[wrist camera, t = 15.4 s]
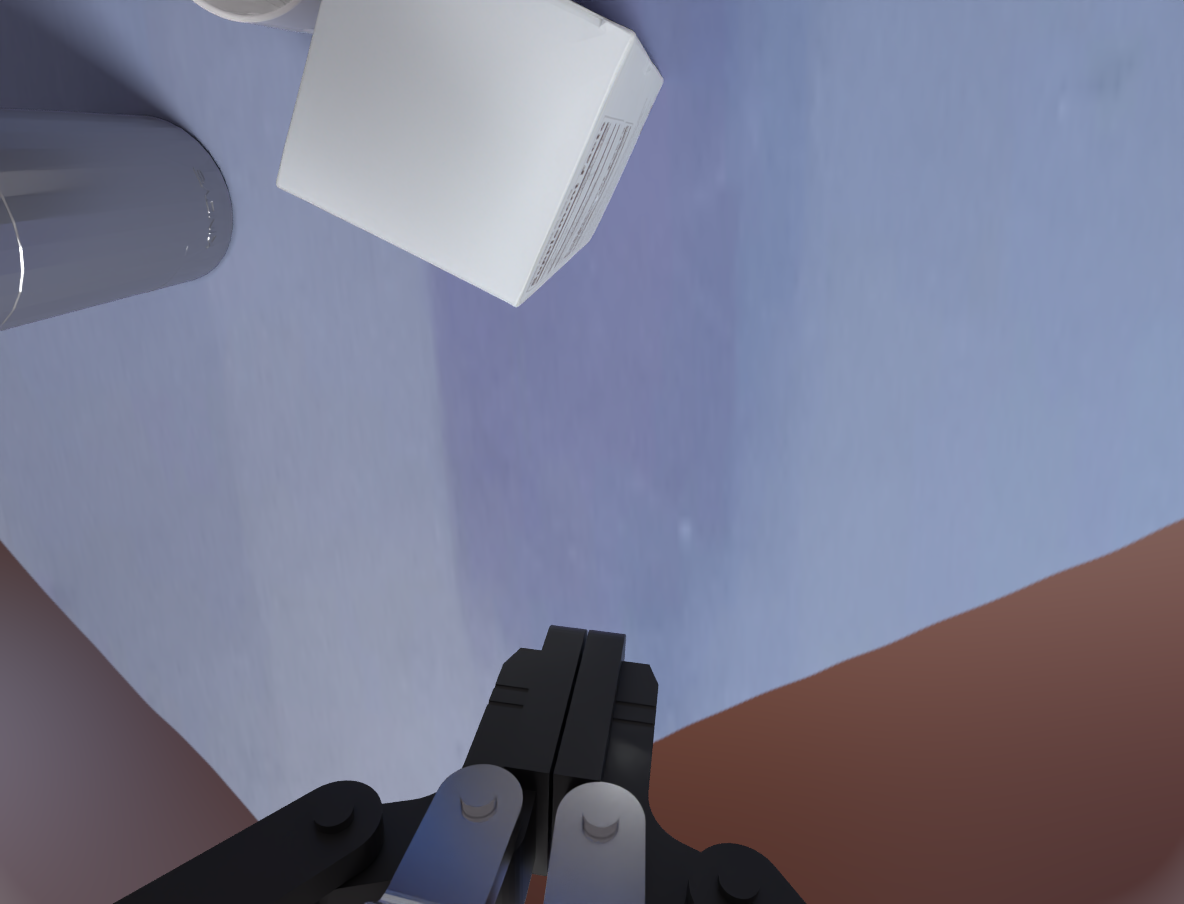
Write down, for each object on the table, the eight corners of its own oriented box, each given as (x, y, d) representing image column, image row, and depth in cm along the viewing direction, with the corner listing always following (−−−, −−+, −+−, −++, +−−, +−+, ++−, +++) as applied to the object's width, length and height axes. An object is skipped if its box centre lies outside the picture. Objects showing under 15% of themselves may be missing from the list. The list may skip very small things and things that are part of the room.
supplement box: (434, 168, 39) (258, 185, 24) (497, -15, 35) (334, -135, 20) (592, 249, 39) (518, 317, 24) (670, 77, 36) (642, 29, 20)
